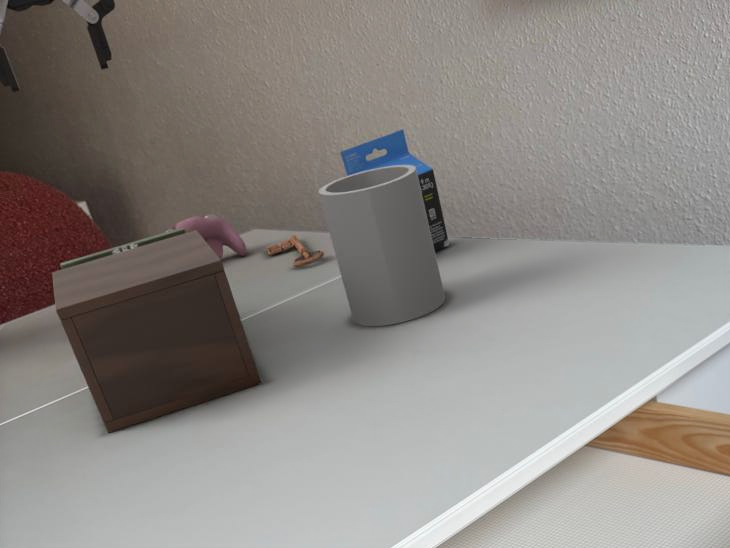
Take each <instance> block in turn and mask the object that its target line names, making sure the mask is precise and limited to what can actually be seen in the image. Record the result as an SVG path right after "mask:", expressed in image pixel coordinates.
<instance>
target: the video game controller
mask: <svg viewBox="0 0 730 548" xmlns="http://www.w3.org/2000/svg"><path fill="white" fill-rule="evenodd" d="M179 228H184V230H185V232H186V233H188V232H191V231H195V230H197V231H198V233H199V234H200V235H201V236H202V238H203V239H204V240H205V241H206V242H207V244H208V245H209V246H210V247H211V249H212V250H213V251H214V252H215V254H216V255H217V256H218V257H219V259H220V260H221V258H222V257H223V255H224V246H225V247H228V248H229V249H230V250H232V251H233V252H234V253H236V254H237V255H239V256H243V257H245V256H246V255H247V254H248V253H247V252H248V251H247V250H248V249H247V246H246V243H245V241H244V239H243V238H242V237H241V236H240V234H238V232H237V231H236V230H235V229H234V228H233V227H232V225H230V224H229V223H228V222H227V221H226V220H225V219H224V218H222V217H219V216H217V215H216V214H215V213H210V214H208V215H203V216H199V215H195V216H192V217H188V218H186V219H184V220H181V221H179V222H177V223H176V224H174V225H173V226H172V227H170V228H168V229H166V231H165V232H164V233H166V232H169V231H172V230H176V229H179Z"/></svg>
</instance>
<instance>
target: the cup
mask: <svg viewBox="0 0 730 548" xmlns="http://www.w3.org/2000/svg"><path fill="white" fill-rule="evenodd" d="M318 196H319V199H320V203H321V207H322V210H323V214H324V217H325V221H326V225H327V230H328V232H329V236H330V239H331V243H332V248H333V250H334V254H335V258H336V261H337V265H338V269H339V273H340V277H341V280H342V284H343V287H344V290H345V295H346V298H347V302H348V305H349V309H350V313H351V317H352V320H353V322H354V323H355V325H358V326H362V327H384V326H390V325H391V326H392V325H395V324H401V323H405V322H408V321H412V320H414V319H418V318H420V317H423V316H425V315H428V314H430V313H432V312H433V311H435V310H437V309H438V308H440V307H441V306H442V305H443V304H444V302H445V301H446V294H445V291H444V286H443V282H442V277H441V272H440V269H439V264H438V259H437V255H436V251H435V250H434V246H433V241H432V237H431V232H430V228H429V223H428V219H427V214H426V210H425V205H424V201H423V197H422V192H421V188H420V183H419V179H418V174H417V170H416V167H415V166H413V165H395V166H387V167H381V168H376V169H371V170H367V171H363V172H359V173H355V174H352V175H349V176H347V175H346V176H343V177H340V178H338V179H335V180H332V181H331V182H328V183H326V184H325V185H323V186H322V187H320V188H319V189H318Z"/></svg>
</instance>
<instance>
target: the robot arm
mask: <svg viewBox="0 0 730 548" xmlns="http://www.w3.org/2000/svg"><path fill="white" fill-rule="evenodd" d="M55 1H56V0H0V36H1V34H2V30H3V27H4V24H5V19H6V16H7V13H8V12H7V11H8V10H9V11H12V12H17V13H18V12H23V11H27V10H28V9H30V8H32V7H33V6H37V7H38V6H39V7H43V6H49V5H51V4H53V3H54V2H55ZM61 1H62V2H63V3H65V4H66V5H67V6H68V7H69V8H71V9H72V10H73V11H74V12H75V13H77V14H78V15H79V16H80V17H81V18H82V19H83V20H84V21H85V23H86V24H87V25H86V31H87V33H88V36H89V39H90V42H91V45H92V47H93V50H94V53H95V57H96V59H97V62H98V65H99V68H100V70H101V71H102V70H106V69H107V70H108V69H109V65H108V62H109V61H112V51H111V48H110V45H109V43H108V39H107V37H106V33H105V31H104V28H103V27H104V26H103V25H102V23H103V19H104V18H105V17H106V16H107V15H108V14H110V13H111V12H113V11H114V10H115V8H116V2H115V0H98V1H97V2H96V3H94V4H92V6H90V5H89V3H87V2H86V1H84V0H61ZM6 51H7V50H6V48H5V46H2V44H1V43H0V84H2V85H3V87H4V88H6V87H10V89H11V92H12V93H17V92H20V91H21V87H20V85H19V82H18V79H17V77H16V74H15V71H14V69H13V67H12V64H11V61H10V59H9V56H8V54H7V52H6Z"/></svg>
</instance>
